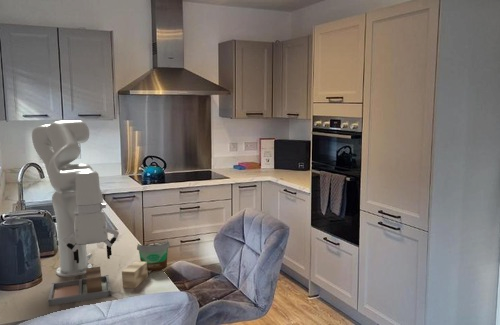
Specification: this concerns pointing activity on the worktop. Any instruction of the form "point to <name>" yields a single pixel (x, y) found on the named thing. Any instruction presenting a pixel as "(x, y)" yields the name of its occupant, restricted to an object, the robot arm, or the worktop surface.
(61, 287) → the slot organizer
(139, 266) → the pale oak block
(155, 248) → the food container
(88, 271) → the walnut block
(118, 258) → the worktop surface
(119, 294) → the worktop surface
